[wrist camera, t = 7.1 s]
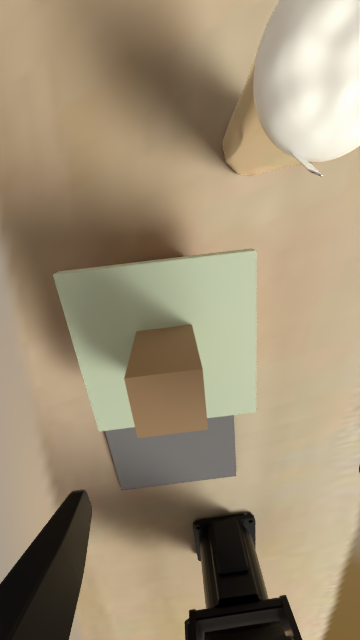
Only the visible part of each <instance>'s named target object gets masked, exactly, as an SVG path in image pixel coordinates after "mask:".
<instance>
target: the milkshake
mask: <svg viewBox="0 0 360 640" xmlns="http://www.w3.org/2000/svg"><path fill="white" fill-rule="evenodd" d="M358 146H360V0H280V1H279V3H278V4H277V6H276V8H275V10H274V11H273V13H272V15H271V17H270V19H269V21H268V23H267V26H266V28H265V31H264V33H263V36H262V39H261V41H260V44H259V47H258V49H257V52H256V55H255V58H254V60H253V63H252V66H251V68H250V71H249V74H248V77H247V79H246V82H245V85H244V88H243V91H242V93H241V95H240V98H239V100H238V102H237V105H236V107H235V109H234V112H233V114H232V116H231V118H230V121H229V123H228V126H227V129H226V132H225V135H224V138H223V141H222V147H223V151H224V156H225V161H226V163H227V164H228V165H229V166H230V167H231V168H232V169H233V170H234V171H235V172H236V173H238V174H239V175H257V174H262V173H266V172H270V171H274V170H279V169H283V168H287V167H291V166H297V165H303V166H304V167H305V168H306V169H307V170H308V171H309V172H311V173H314V174H316V175H318V176H321V177H323V174H322V173H320V172H319V171H318V170H317V169H316V168H315V167H314V166H312V165H311V164H310V163H315V162H322V161H328V160H332V159H335V158H338V157H341V156H343V155H345V154H347V153H349V152H351V151H352V150H354V149H355V148H357V147H358Z"/></svg>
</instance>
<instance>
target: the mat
mask: <svg viewBox="0 0 360 640" xmlns="http://www.w3.org/2000/svg"><path fill="white" fill-rule="evenodd" d="M207 423H208V430H200V431H192V432H184V433H176V434H167V435H159V436H151V437H143V438H137V434H136V429H135V427H132V428H124V429H116V430H107V431H105V433H106V437H107V440H108V444H109V447H110V451H111V454H112V458H113V461H114V465H115V468H116V472H117V475H118V479H119V483H120V486H121V490H128V489H136V488H144V487H152V486H160V485H168V484H176V483H184V482H192V481H200V480H208V479H216V478H224V477H232V476H236V458H235V434H234V415H230V416H222V417H213V418H207Z"/></svg>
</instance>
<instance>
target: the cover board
mask: <svg viewBox="0 0 360 640" xmlns="http://www.w3.org/2000/svg"><path fill="white" fill-rule="evenodd" d="M53 278H54V281H55V284H56V288H57V291H58V295H59V298H60V301H61V305H62V308H63V312H64V315H65V318H66V322H67V325H68V329H69V332H70V335H71V339H72V342H73V346H74V349H75V352H76V356H77V359H78V363H79V366H80V369H81V373H82V376H83V380H84V383H85V386H86V390H87V393H88V397H89V400H90V403H91V407H92V410H93V414H94V417H95V420H96V424H97V427H98V431H107V430H116V429H124V428H132V427H135V429H136V434H137V438H143V437H151V436H159V435H167V434H176V433H184V432H192V431H200V430H208V423H207V418H213V417H222V416H230V415H238V414H246V413H254V412H256V250H254V249H244V250H235V251H227V252H219V253H210V254H202V255H193V256H185V257H176V258H168V259H159V260H151V261H143V262H134V263H126V264H117V265H109V266H100V267H92V268H83V269H75V270H67V271H59V272H57V273H55V274H53Z"/></svg>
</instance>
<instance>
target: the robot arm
mask: <svg viewBox="0 0 360 640" xmlns="http://www.w3.org/2000/svg"><path fill="white" fill-rule="evenodd" d="M359 472H360V466H359ZM91 517H92V506H91V503H90V500H89V497H88V495H87V492H86V491H85V490H76V491H72V492H71V493H70V494H69V495H68V497H67V498H66V499H65V501H64V502H63V503H62V504H61V506H60V507H59V508H58V510H57V511H56V512H55V514H54V515H53V516H52V517H51V519H50V520H49V522H48V523H47V524H46V525H45V527H44V528H43V529H42V531H41V532H40V533H39V534H38V536H37V537H36V538H35V540H34V541H33V542H32V543H31V545H30V546H29V547H28V549H27V550H26V551H25V553H24V554H23V555H22V556H21V558H20V559H19V560H18V562H17V563H16V564H15V565H14V567H13V568H12V569H11V571H10V572H9V573H8V575H7V576H6V577H5V579H4V580H3V581H2V582H1V584H0V640H69V636H70V632H71V627H72V623H73V619H74V614H75V610H76V605H77V601H78V597H79V592H80V588H81V583H82V578H83V573H84V567H85V560H86V553H87V546H88V539H89V531H90V524H91ZM193 529H194V535H195V542H196V549H197V556H198V560H199V561H201V564H202V573H203V583H204V593H205V603H206V609H202V610H195V609H193V610H189V619H187V620H186V621H185V640H302V638H301V635H300V632H299V630H298V627H297V624H296V621H295V619H294V616H293V613H292V610H291V608H290V605H289V602H288V600H287V597H286V595H282V596H280V597H279V598H273V599H268V595H267V591H266V588H265V584H264V580H263V576H262V573H261V569H260V565H259V562H258V558H257V554H256V550H255V518H254V515H252V514H247V515H239V516H231V517H224V518H216V519H208V520H200V521H195V522H194V523H193Z"/></svg>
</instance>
